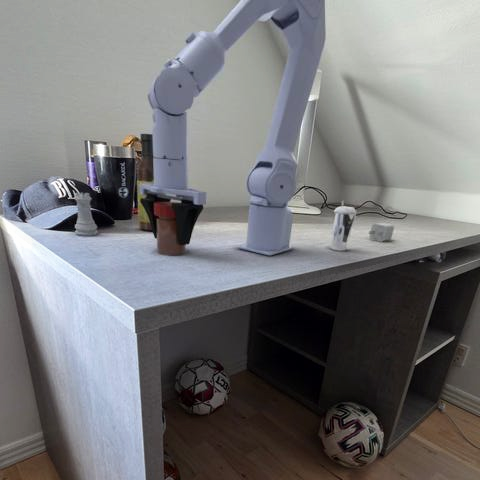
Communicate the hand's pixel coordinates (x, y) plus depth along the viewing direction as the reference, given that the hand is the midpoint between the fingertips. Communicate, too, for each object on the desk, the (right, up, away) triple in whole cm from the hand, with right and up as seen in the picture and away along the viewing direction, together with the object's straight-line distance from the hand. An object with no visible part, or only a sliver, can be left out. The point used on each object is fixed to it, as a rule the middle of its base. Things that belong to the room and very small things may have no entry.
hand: (171, 241), depth 63 cm
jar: (0, -2, +1) cm, 2 cm away
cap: (0, +6, -3) cm, 6 cm away
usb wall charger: (+49, +6, +27) cm, 56 cm away
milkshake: (+34, +1, +14) cm, 37 cm away
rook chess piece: (-19, +3, +9) cm, 21 cm away
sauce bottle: (-8, +7, +18) cm, 21 cm away
